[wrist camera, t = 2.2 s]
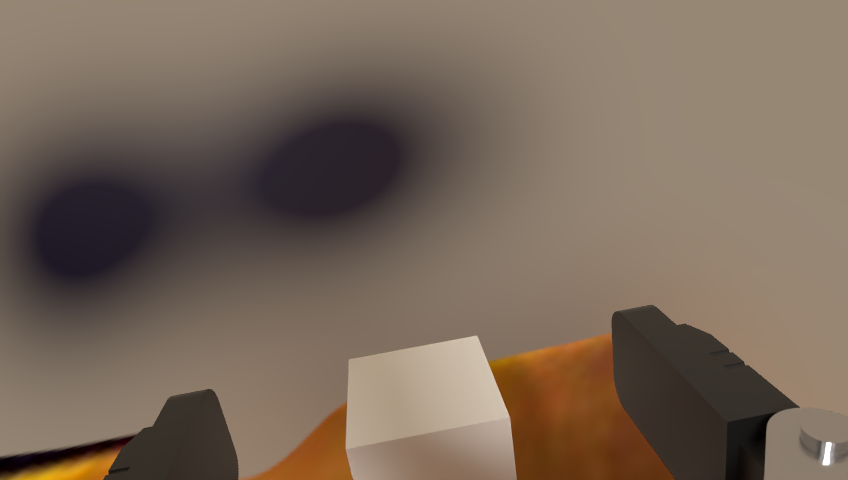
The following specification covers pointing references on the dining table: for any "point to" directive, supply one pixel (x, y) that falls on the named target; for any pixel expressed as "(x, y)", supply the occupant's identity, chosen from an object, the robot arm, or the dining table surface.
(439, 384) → the cream rectangular box
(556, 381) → the dining table surface
